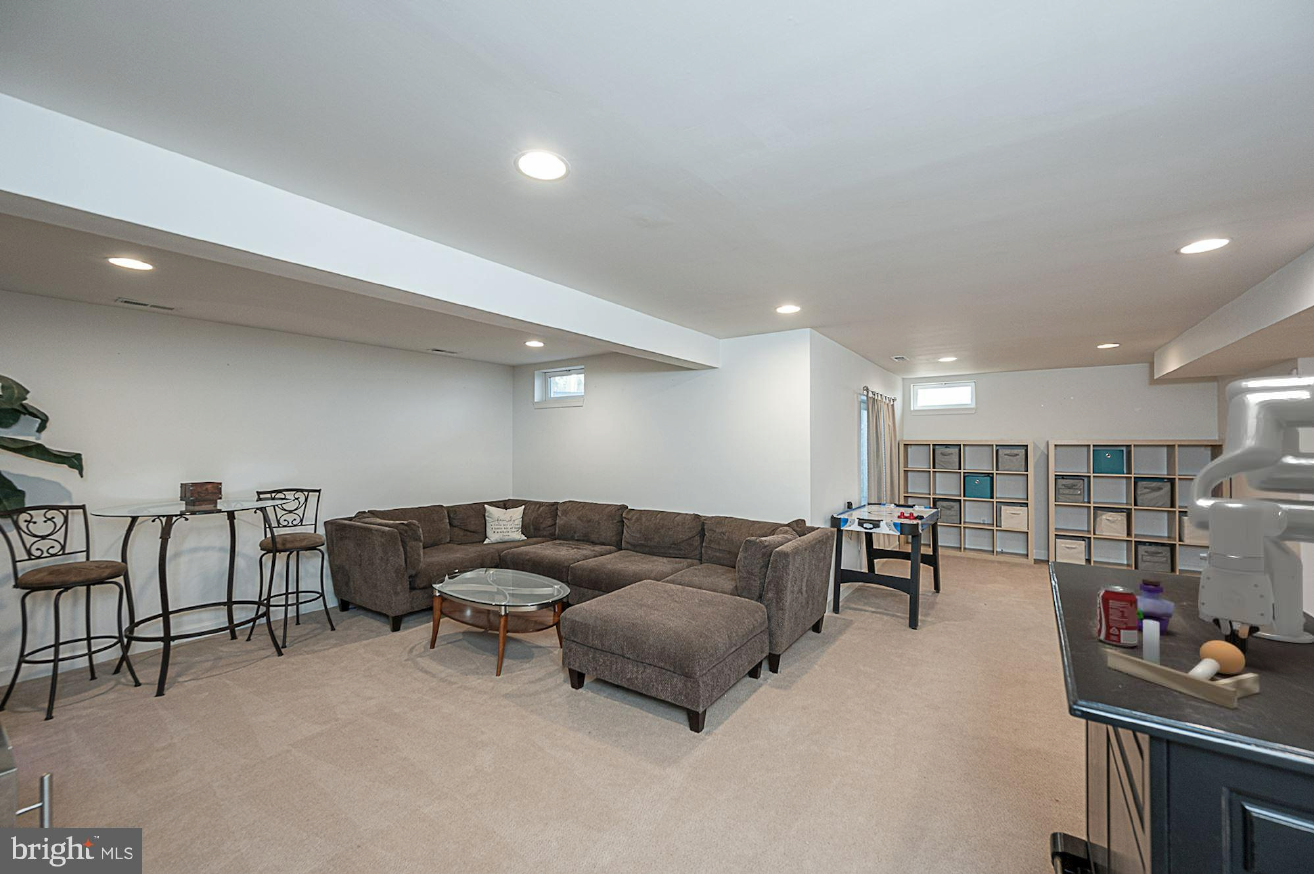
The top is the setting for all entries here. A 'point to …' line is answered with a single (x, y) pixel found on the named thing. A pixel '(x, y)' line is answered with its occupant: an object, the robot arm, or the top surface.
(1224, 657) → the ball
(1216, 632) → the top surface
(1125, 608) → the soda can
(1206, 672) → the ivory pin
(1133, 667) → the wooden t-square
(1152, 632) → the grey pin
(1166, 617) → the potion bottle
